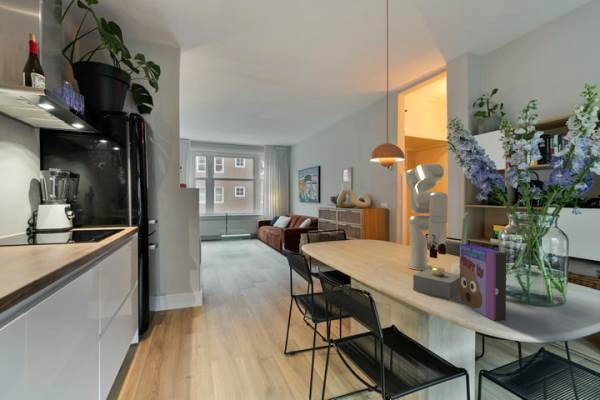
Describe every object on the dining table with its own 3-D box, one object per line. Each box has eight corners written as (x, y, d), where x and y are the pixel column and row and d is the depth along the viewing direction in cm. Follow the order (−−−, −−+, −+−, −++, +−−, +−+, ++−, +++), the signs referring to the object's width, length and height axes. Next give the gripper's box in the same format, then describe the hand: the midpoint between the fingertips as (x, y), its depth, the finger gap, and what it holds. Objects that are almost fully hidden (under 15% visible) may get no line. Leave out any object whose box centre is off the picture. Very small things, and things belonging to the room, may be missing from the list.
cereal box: (459, 301, 113) (459, 244, 113) (470, 301, 114) (470, 243, 113) (493, 321, 96) (493, 252, 96) (505, 320, 96) (506, 252, 96)
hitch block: (428, 282, 138) (428, 268, 138) (463, 290, 127) (463, 275, 126) (413, 289, 128) (413, 274, 128) (450, 299, 116) (450, 283, 116)
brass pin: (434, 285, 131) (434, 266, 131) (446, 288, 127) (446, 268, 127) (430, 287, 127) (430, 268, 127) (441, 290, 123) (441, 270, 123)
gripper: (437, 217, 135) (437, 251, 136) (421, 220, 124) (421, 257, 124) (453, 218, 130) (453, 254, 130) (439, 221, 118) (438, 261, 119)
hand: (437, 255), depth 127 cm, fingers open, 9 cm apart
